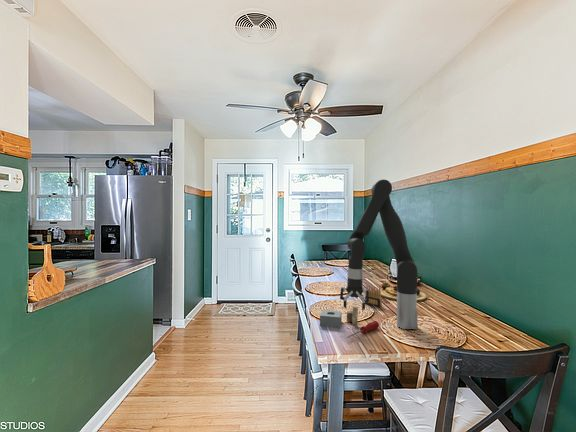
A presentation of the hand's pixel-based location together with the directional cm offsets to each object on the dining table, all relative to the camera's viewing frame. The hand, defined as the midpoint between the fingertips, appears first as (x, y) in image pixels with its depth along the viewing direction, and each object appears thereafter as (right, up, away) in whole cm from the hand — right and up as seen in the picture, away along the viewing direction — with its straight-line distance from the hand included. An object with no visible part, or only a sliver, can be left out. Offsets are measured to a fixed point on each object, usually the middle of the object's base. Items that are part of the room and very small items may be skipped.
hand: (354, 308), depth 151 cm
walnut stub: (0, -8, +5) cm, 9 cm away
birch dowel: (0, -8, -1) cm, 8 cm away
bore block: (-12, -8, +1) cm, 14 cm away
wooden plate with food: (+46, -9, +58) cm, 75 cm away
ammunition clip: (+19, -9, +34) cm, 40 cm away
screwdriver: (+1, -8, -13) cm, 15 cm away
